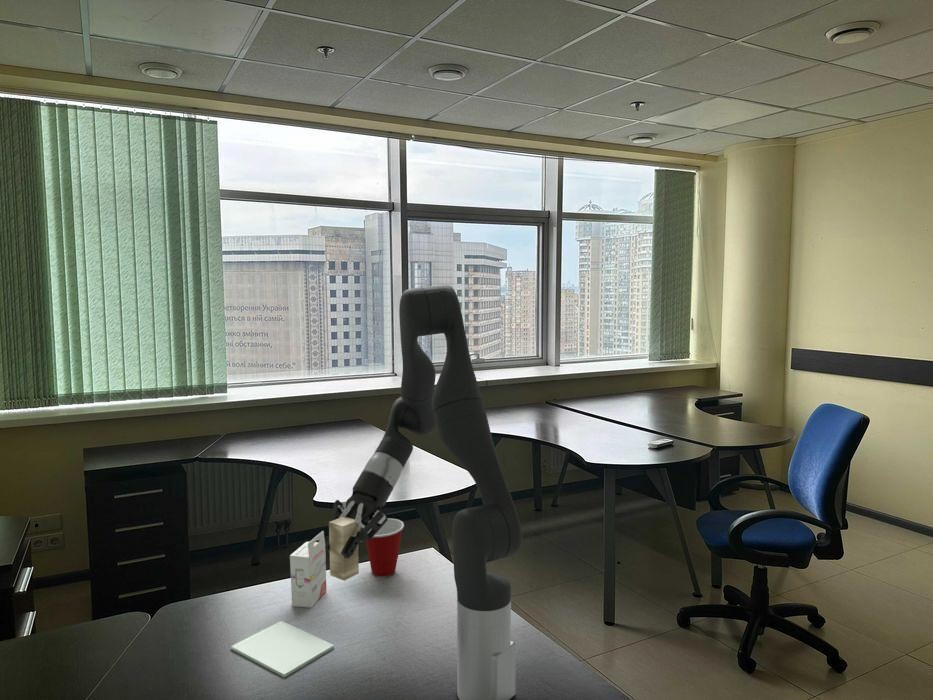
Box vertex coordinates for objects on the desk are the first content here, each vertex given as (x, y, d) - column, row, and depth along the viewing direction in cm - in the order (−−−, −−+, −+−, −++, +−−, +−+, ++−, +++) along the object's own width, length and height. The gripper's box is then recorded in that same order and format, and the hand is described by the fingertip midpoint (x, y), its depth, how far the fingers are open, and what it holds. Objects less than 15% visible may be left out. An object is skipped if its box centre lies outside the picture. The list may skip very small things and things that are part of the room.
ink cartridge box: (307, 589, 152) (305, 528, 151) (327, 591, 151) (325, 529, 150) (290, 606, 144) (288, 542, 142) (311, 608, 143) (309, 543, 141)
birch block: (358, 573, 131) (357, 520, 130) (344, 580, 128) (342, 526, 127) (344, 568, 133) (343, 516, 132) (330, 575, 130) (328, 522, 129)
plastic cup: (355, 567, 164) (354, 521, 163) (396, 560, 169) (395, 515, 167) (367, 585, 154) (367, 536, 153) (410, 576, 159) (410, 529, 158)
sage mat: (334, 648, 127) (334, 645, 127) (284, 677, 117) (284, 674, 117) (281, 623, 136) (281, 620, 136) (231, 649, 127) (231, 646, 126)
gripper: (345, 464, 139) (301, 536, 130) (394, 475, 130) (351, 553, 122) (363, 482, 143) (322, 553, 135) (412, 494, 135) (372, 571, 126)
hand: (336, 553), depth 128 cm, fingers closed on birch block, 4 cm apart
